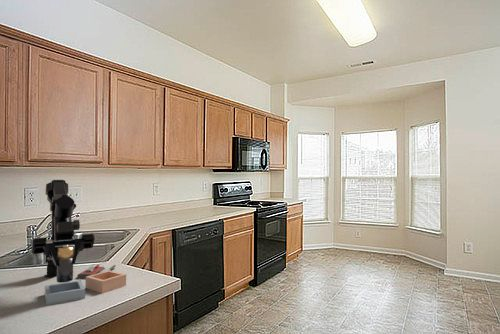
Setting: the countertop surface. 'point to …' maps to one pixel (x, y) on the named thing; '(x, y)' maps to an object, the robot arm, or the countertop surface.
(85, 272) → the walkie-talkie
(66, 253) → the cell
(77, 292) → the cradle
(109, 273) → the bin
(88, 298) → the countertop surface
